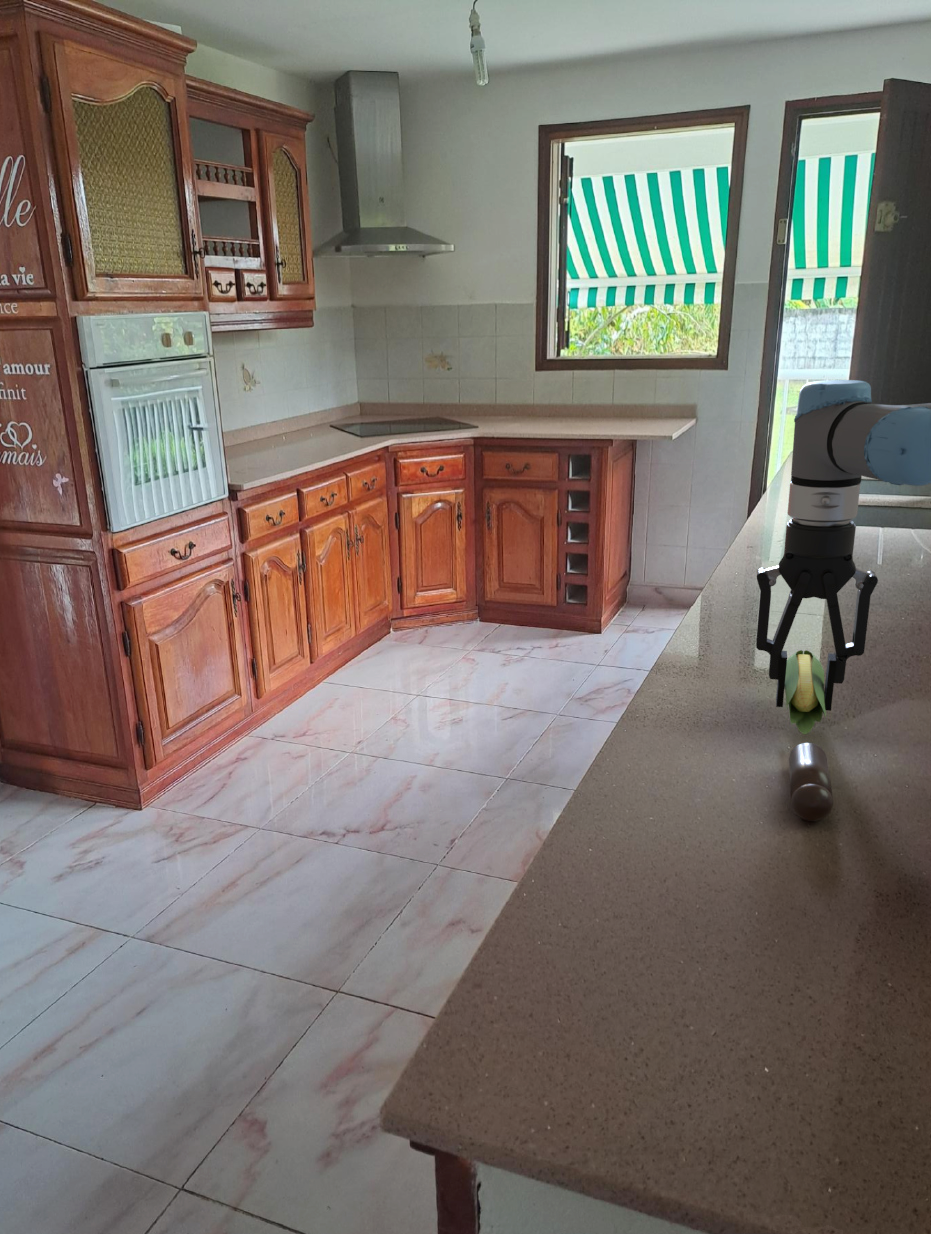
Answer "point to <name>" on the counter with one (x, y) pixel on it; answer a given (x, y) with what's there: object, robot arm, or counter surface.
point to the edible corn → (804, 690)
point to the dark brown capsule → (810, 782)
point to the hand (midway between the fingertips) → (802, 704)
